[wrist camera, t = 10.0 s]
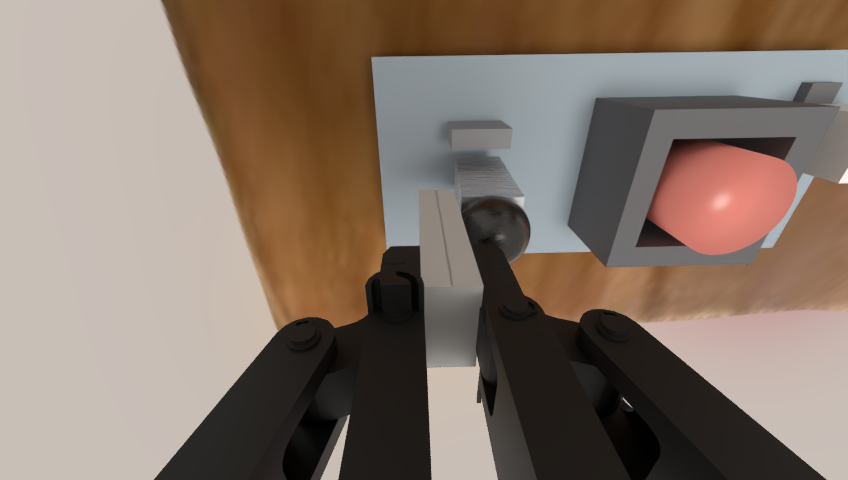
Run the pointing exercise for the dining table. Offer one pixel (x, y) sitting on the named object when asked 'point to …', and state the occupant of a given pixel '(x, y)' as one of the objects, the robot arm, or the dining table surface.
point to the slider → (832, 150)
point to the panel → (596, 135)
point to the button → (720, 195)
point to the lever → (491, 204)
